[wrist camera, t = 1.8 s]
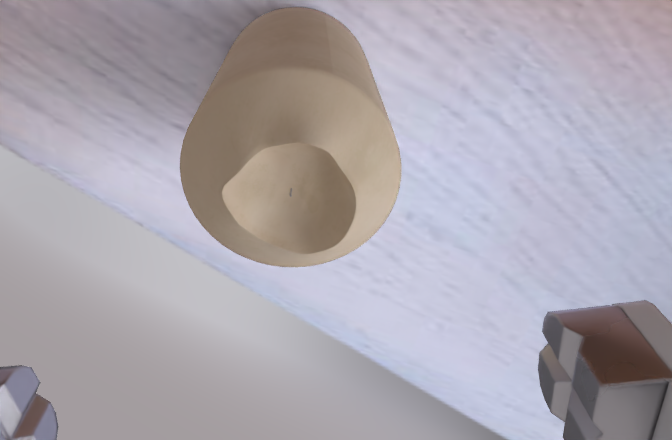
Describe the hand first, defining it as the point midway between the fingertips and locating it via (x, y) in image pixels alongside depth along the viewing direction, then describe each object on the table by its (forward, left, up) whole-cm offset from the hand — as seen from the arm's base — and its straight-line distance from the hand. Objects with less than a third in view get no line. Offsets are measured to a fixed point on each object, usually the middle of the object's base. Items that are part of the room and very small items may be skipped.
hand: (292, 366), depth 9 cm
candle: (-1, 0, -15) cm, 15 cm away
